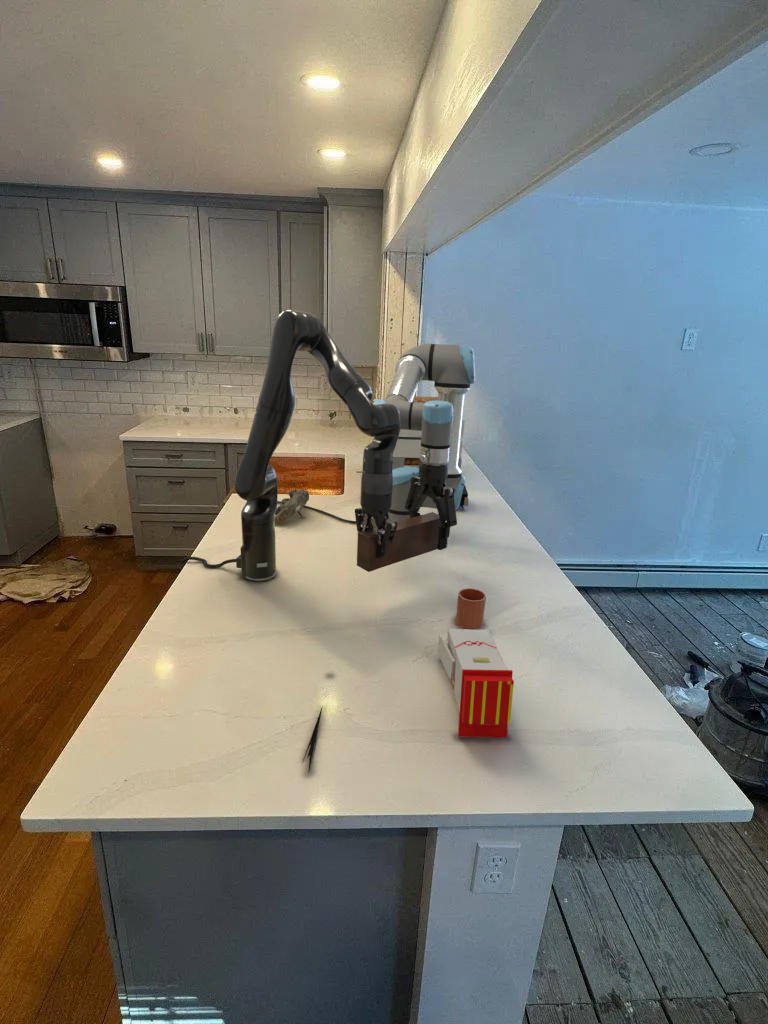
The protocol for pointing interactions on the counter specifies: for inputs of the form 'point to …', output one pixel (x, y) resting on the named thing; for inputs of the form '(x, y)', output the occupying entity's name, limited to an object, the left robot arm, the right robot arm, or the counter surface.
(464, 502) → the figurine character
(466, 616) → the terracotta cup
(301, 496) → the fossil
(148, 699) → the counter surface
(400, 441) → the light grey boxy piece
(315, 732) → the feather
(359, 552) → the walnut box
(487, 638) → the toy
